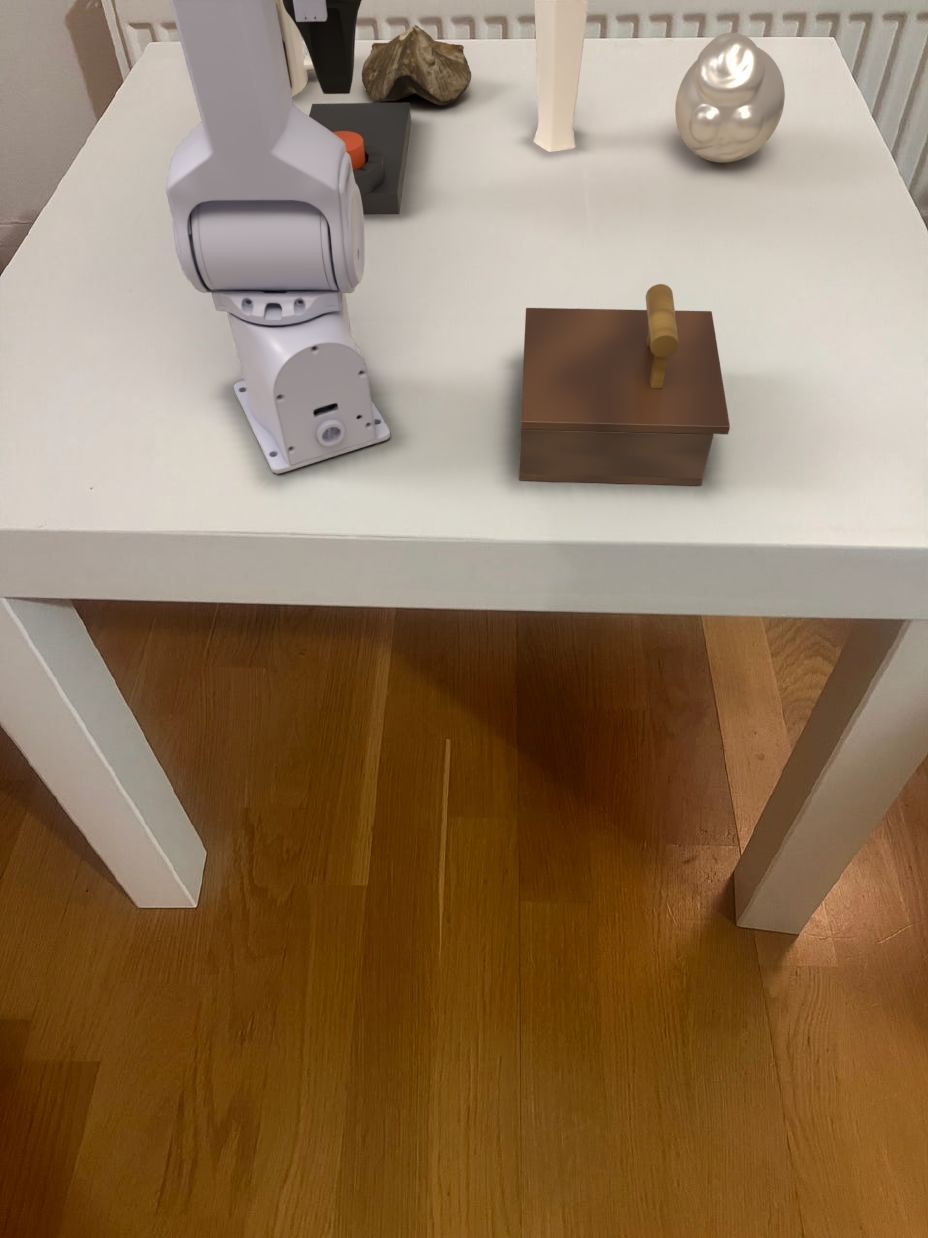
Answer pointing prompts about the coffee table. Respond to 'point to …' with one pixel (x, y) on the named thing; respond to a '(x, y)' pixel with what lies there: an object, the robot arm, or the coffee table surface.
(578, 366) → the case lid
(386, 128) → the control box
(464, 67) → the fossilized seashell
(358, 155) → the button
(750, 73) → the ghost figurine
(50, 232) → the coffee table surface
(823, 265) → the coffee table surface
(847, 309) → the coffee table surface
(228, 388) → the coffee table surface
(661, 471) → the wooden case
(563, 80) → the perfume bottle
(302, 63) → the mug
